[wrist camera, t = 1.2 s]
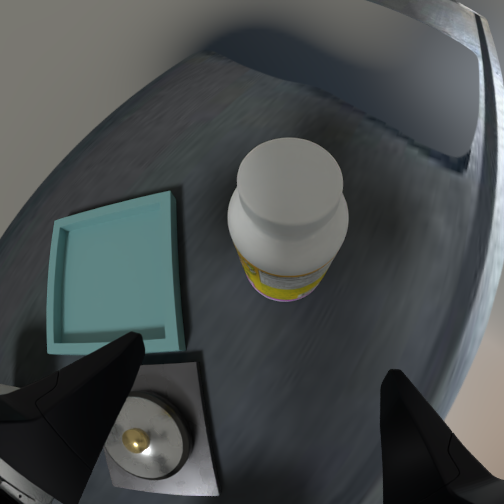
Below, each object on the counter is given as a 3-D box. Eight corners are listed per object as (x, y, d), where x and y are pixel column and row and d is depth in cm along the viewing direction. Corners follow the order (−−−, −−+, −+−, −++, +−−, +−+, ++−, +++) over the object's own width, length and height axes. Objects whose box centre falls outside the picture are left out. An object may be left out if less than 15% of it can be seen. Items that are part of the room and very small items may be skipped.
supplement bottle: (250, 224, 26) (228, 118, 14) (325, 231, 25) (359, 128, 13) (239, 299, 24) (200, 239, 12) (321, 307, 23) (369, 254, 11)
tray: (186, 350, 22) (178, 350, 21) (58, 354, 23) (47, 353, 21) (176, 200, 27) (170, 190, 26) (63, 227, 28) (54, 220, 26)
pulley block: (221, 491, 18) (212, 510, 14) (118, 482, 18) (98, 495, 15) (199, 361, 22) (185, 362, 18) (97, 365, 22) (72, 364, 19)
